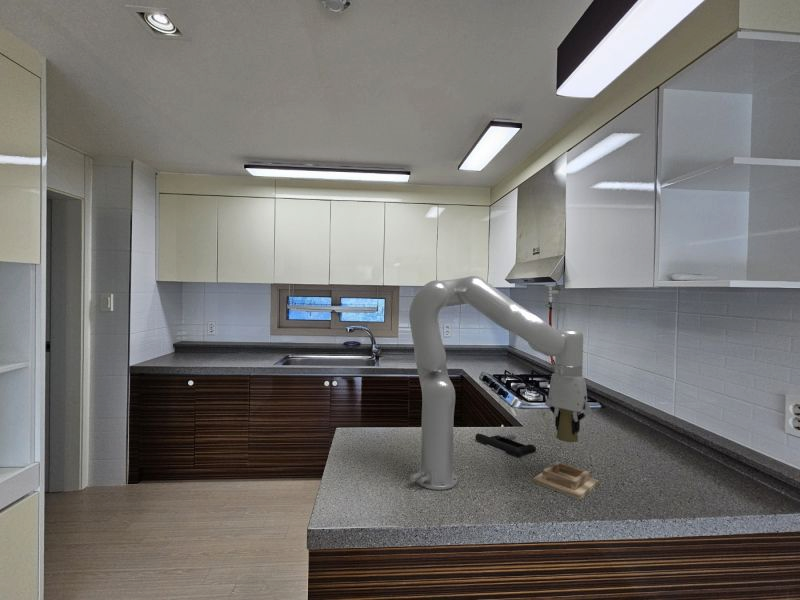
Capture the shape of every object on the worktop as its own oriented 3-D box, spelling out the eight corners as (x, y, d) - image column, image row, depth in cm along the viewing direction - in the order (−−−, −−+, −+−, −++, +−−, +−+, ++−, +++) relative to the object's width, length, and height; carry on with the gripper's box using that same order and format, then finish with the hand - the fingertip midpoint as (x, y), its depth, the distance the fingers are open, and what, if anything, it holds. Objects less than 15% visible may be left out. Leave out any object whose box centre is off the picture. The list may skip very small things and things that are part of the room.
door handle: (500, 428, 164) (473, 433, 155) (544, 443, 148) (516, 450, 139) (499, 436, 164) (472, 442, 155) (543, 452, 148) (516, 460, 139)
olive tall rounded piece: (552, 438, 121) (553, 401, 121) (561, 433, 126) (562, 398, 126) (573, 443, 117) (574, 405, 117) (581, 438, 121) (582, 402, 121)
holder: (579, 500, 112) (579, 486, 112) (532, 482, 122) (532, 470, 122) (598, 484, 121) (599, 472, 121) (553, 468, 132) (554, 457, 132)
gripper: (536, 368, 125) (534, 427, 125) (592, 376, 112) (590, 442, 113) (547, 365, 130) (546, 422, 130) (602, 373, 118) (601, 436, 118)
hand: (567, 430), depth 121 cm, fingers closed on olive tall rounded piece, 4 cm apart
